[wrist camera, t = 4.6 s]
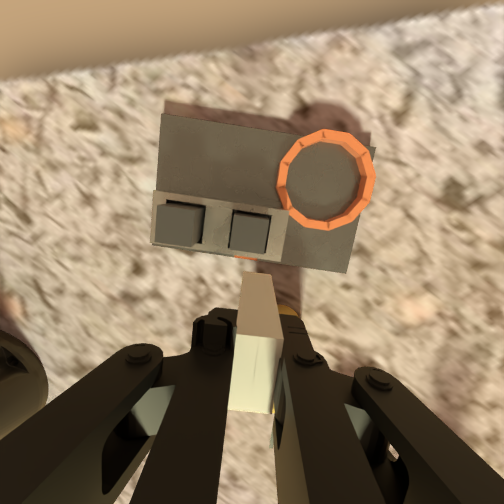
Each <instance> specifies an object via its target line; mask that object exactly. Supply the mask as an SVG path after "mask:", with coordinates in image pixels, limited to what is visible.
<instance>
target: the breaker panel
mask: <svg viewBox="0 0 504 504" xmlns="http://www.w3.org/2000/svg"><path fill="white" fill-rule="evenodd" d="M302 137H305V136H301V135H294V134H288V133H282V132H275V131H269V130H263V129H256V128H250V127H244V126H237V125H231V124H225V123H218V122H212V121H206V120H199V119H193V118H187V117H180V116H174V115H168V114H161V124H160V139H159V153H158V168H157V183H156V190H153V204H152V219H151V235H150V243H152V245H154V246H161V247H168V248H175V249H182V250H188V251H195V252H202V253H209V254H216V255H223V256H229V257H236V258H243V259H250V260H257V261H264V262H270V263H277V264H284V265H291V266H298V267H305V268H311V269H318V270H325V271H332V272H339V273H345V274H346V272H347V268H348V264H349V260H350V255H351V251H352V247H353V243H354V238H355V234H356V230H357V226H358V221H359V217H360V214H359V215H358V216H357V217H356V218H355V219H354V220H353V222H350V223H348V224H345V225H342V226H340V227H337V228H334V229H332V230H328V231H327V230H321V229H314V228H307V227H304V226H302V225H301V224H300V223H299V222H297V221H296V220H295V219H294V218H292V217H291V216H290V215H289V212H290V211H289V210H287V209H284V208H283V207H282V204H281V202H280V199H279V196H278V193H277V191H276V188H275V187H276V181H277V175H278V169H279V163H280V161H281V160H282V159H283V158H284V156H285V155H286V154H287V152H288V151H289V150H290V149H291V147H292V146H293V145H294V143H295V142H296V141H297V140H298V139H300V138H302ZM363 146H364V145H363ZM364 147H365V148H367V149H368V150H369V153H370V156H371V160H372V162H373V158H374V153H375V149H376V147H371V146H364ZM360 181H361V175H360V172H359V169H358V165H357V162H356V159H355V157H354V156H353V155H351V154H350V153H349V152H348V151H347V150H346V149H345V148H344V147H342V146H341V145H340V144H334V143H327V142H321V141H319V142H317V143H315V144H312V145H310V146H307V147H305V148H302V149H301V150H300V151H299V153H298V154H297V155H296V157H295V158H294V159H293V160H292V162H291V163H290V164H289V167H288V173H287V179H286V185H285V187H286V190H287V193H288V196H289V199H290V201H291V204H292V207H294V208H295V209H296V210H297V211H298V212H300V213H301V214H302V215H303V216H305V217H306V218H310V219H316V220H323V221H325V220H327V219H330V218H333V217H335V216H338V215H341V214H343V213H344V212H345V211H346V210H347V208H348V207H349V206H350V205H351V204H352V203H353V201H354V200H355V199H356V198H357V194H358V189H359V185H360ZM173 202H174V203H181V204H188V205H194V206H201V207H205V213H204V222H203V231H202V238H201V239H200V240H199V241H198V242H197V243H196V244H195V245H193V246H192V247H184V246H178V245H171V244H164V243H157V242H154V240H155V226H156V212H157V205H160V204H166V203H173ZM237 211H242V212H248V213H255V214H262V215H267V216H268V218H269V226H268V232H267V238H266V244H265V250H264V255H263V254H256V253H249V252H243V251H236V250H229V248H230V241H231V233H232V226H233V218H234V214H235V213H236V212H237ZM360 213H361V212H360Z"/></svg>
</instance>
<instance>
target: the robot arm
mask: <svg viewBox="0 0 504 504" xmlns="http://www.w3.org/2000/svg"><path fill="white" fill-rule="evenodd" d="M47 398H48V380H47V376H46V373H45V370H44V368H43V366H42V364H41V362H40V361H39V359H38V358H37V356H36V355H35V354H34V353H33V352H32V351H31V350H30V349H29V348H28V347H27V346H26V345H25V344H24V343H23V342H21V341H20V340H18V339H17V338H15V337H14V336H12V335H10V334H8V333H6V332H3V331H1V330H0V504H113V503H114V502H115V501H116V499H117V498H118V496H119V495H120V493H121V492H122V490H123V489H124V487H125V486H126V484H127V483H128V481H129V480H130V478H131V477H132V476H133V474H134V473H135V471H136V470H137V468H138V467H139V465H140V464H141V462H142V461H143V459H144V458H145V456H146V455H147V454H148V452H149V451H150V452H149V455H148V457H147V460H146V463H145V465H144V468H143V470H142V473H141V475H140V478H139V480H138V483H137V485H136V488H135V490H134V493H133V495H132V498H131V500H130V503H129V504H216V503H217V495H218V486H219V478H220V469H221V461H222V453H223V444H224V436H225V427H226V419H227V410H238V411H247V412H256V413H266V414H272V410H273V404H274V409H275V416H274V422H273V428H272V434H271V440H270V446H269V448H273V445H274V455H275V468H276V482H277V496H278V504H504V479H503V478H502V477H501V476H500V475H499V474H498V473H497V472H496V471H494V470H493V469H492V468H491V467H490V466H489V465H488V464H487V463H486V462H485V461H484V460H483V459H482V458H481V457H480V456H479V455H477V454H476V453H475V452H474V451H473V450H472V449H471V448H470V447H469V446H468V445H467V444H466V443H465V442H464V441H463V440H461V439H460V438H459V437H458V436H457V435H456V434H455V433H454V432H453V431H452V430H451V429H450V428H449V427H448V426H447V425H445V424H444V423H443V422H442V421H441V420H440V419H439V418H438V417H437V416H436V415H435V414H434V413H433V412H432V411H431V410H430V409H428V408H427V407H426V406H425V405H424V404H423V403H422V402H421V401H420V400H419V399H418V398H417V397H416V396H415V395H414V394H412V393H411V392H410V391H409V390H408V389H407V388H406V387H405V386H404V385H403V384H402V383H401V382H400V381H399V380H397V379H396V378H395V377H393V376H392V375H391V374H389V373H387V372H385V371H383V370H381V369H377V368H374V367H361V368H358V369H357V370H356V371H355V373H354V377H350V376H347V375H343V374H340V373H338V372H335V371H332V370H331V369H329V366H328V364H327V361H326V360H325V359H324V357H323V356H322V355H320V354H319V353H318V352H316V351H314V349H313V347H312V344H311V341H310V339H309V336H308V333H307V331H306V328H305V325H304V323H303V321H302V320H301V319H300V318H299V317H297V316H295V315H287V314H279V312H278V307H277V302H276V297H275V292H274V287H273V282H272V277H271V274H263V273H254V272H246V271H243V278H242V285H241V293H240V300H239V308H238V310H235V309H226V308H217V307H215V308H214V309H213V310H211V311H210V312H209V313H208V315H205V316H201V317H199V318H197V319H196V320H195V321H194V322H193V331H192V344H191V349H190V351H189V352H188V353H185V354H182V355H178V356H171V357H163V351H162V350H161V349H160V348H159V347H157V346H155V345H153V344H146V343H141V344H140V343H139V344H133V345H130V346H126V347H124V348H123V349H121V350H119V351H117V352H116V353H115V354H114V355H112V356H111V357H110V358H108V359H107V360H106V361H104V362H103V363H102V364H100V365H99V366H98V367H96V368H95V369H94V370H92V371H91V372H90V373H88V374H87V375H86V376H84V377H83V378H82V379H80V380H79V381H78V382H76V383H75V384H74V385H72V386H71V387H70V388H68V389H67V390H66V391H64V392H63V393H62V394H60V395H59V396H58V397H56V398H55V399H54V400H52V401H51V402H50V403H48V404H47V405H46V406H45V404H46V401H47ZM390 444H391V445H392V446H393V448H394V449H395V450H396V451H397V453H398V454H399V457H398V459H396V458H395V457H394V456H393V455H392V454H391V452H390V451H389V446H390ZM150 449H151V450H150Z"/></svg>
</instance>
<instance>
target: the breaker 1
mask: <svg viewBox="0 0 504 504" xmlns="http://www.w3.org/2000/svg"><path fill="white" fill-rule="evenodd" d="M204 213H205V207H201V206H194V205H188V204H181V203H174V202H173V203H166V204H160V205H157V212H156V226H155V240H154V242H157V243H164V244H171V245H178V246H184V247H192V246H193V245H195V244H196V243H197V242H198V241H199V240H200V239H201V238H202V231H203V222H204Z"/></svg>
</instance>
